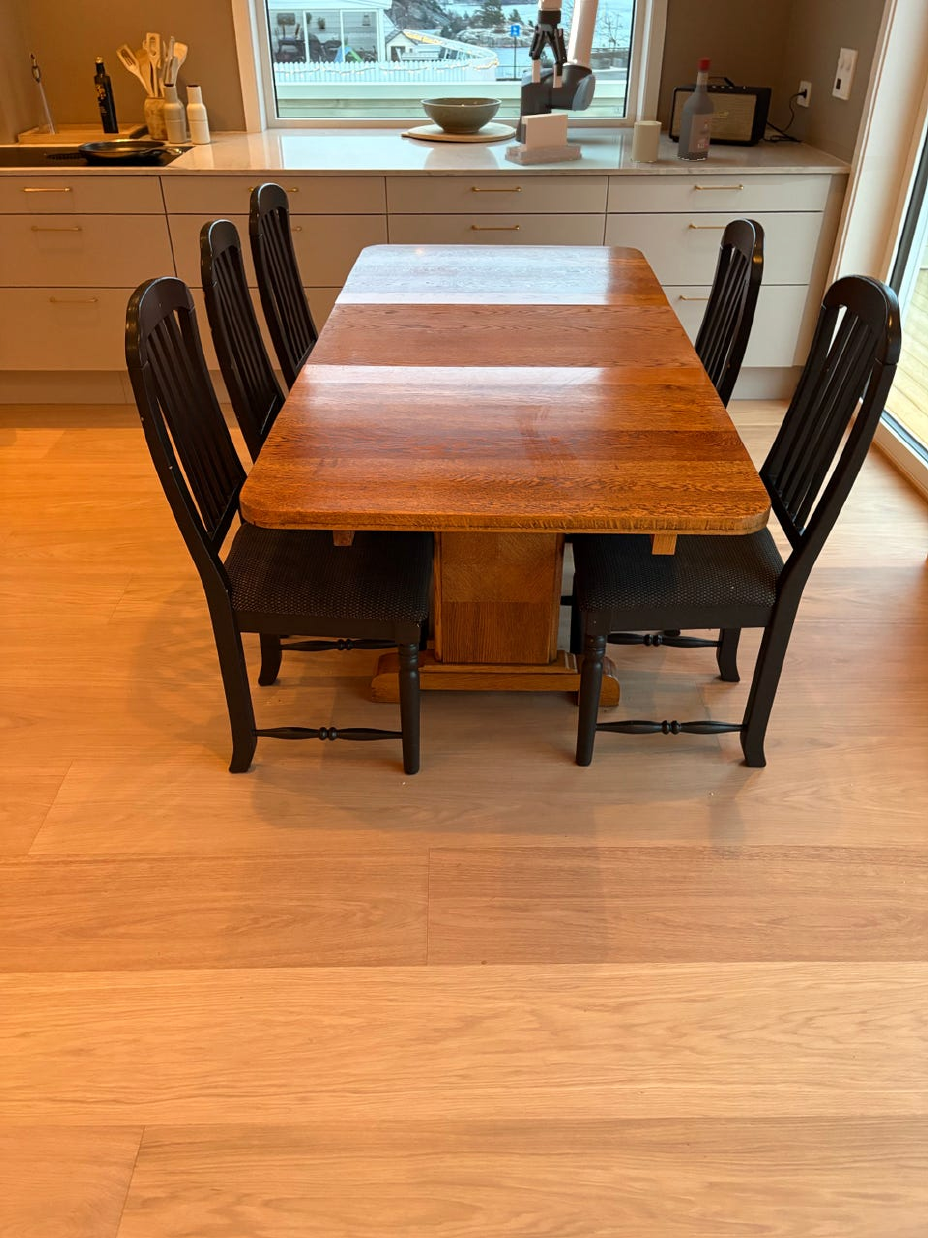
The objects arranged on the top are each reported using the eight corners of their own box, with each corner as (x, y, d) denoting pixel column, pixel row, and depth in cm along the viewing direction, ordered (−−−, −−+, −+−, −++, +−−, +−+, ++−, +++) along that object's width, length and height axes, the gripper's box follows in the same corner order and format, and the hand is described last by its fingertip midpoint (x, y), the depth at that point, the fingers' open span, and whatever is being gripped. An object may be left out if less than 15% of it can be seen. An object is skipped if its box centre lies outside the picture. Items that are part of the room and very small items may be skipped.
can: (651, 163, 321) (655, 124, 314) (626, 160, 325) (630, 121, 318) (661, 158, 327) (666, 120, 320) (637, 156, 331) (641, 117, 324)
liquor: (710, 159, 326) (725, 59, 308) (690, 162, 322) (704, 60, 305) (693, 154, 332) (705, 56, 315) (673, 157, 329) (685, 58, 311)
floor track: (563, 152, 336) (563, 140, 334) (581, 158, 328) (582, 145, 325) (504, 158, 327) (504, 146, 325) (522, 165, 319) (522, 152, 316)
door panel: (559, 150, 331) (561, 112, 324) (565, 152, 328) (568, 114, 321) (518, 155, 325) (520, 116, 318) (524, 157, 322) (526, 118, 315)
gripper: (519, 6, 309) (517, 80, 322) (560, 12, 291) (556, 90, 304) (539, 5, 312) (536, 79, 324) (581, 11, 294) (576, 88, 307)
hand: (546, 84), depth 314 cm, fingers open, 13 cm apart
